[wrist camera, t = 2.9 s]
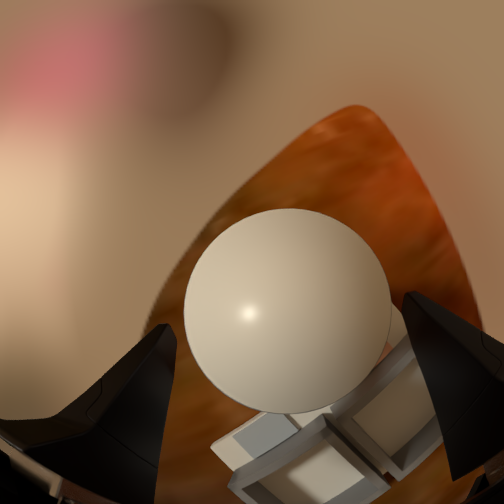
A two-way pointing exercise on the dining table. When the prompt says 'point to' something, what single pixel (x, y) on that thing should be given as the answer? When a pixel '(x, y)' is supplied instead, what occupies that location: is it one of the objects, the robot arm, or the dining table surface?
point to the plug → (287, 311)
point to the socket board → (339, 438)
